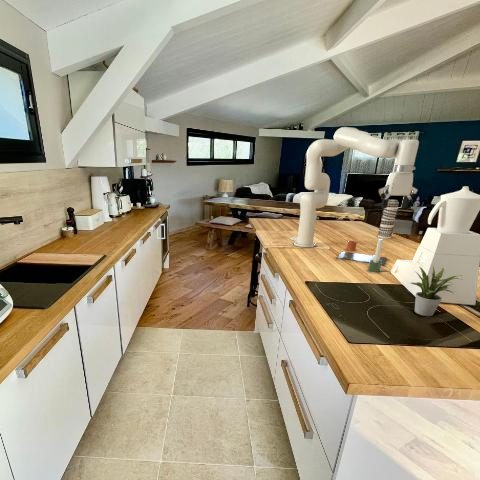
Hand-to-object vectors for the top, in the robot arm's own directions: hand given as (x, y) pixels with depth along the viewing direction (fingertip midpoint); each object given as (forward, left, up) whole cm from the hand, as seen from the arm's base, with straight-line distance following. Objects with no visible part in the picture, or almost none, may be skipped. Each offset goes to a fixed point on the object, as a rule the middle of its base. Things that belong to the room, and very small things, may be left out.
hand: (394, 208), depth 148 cm
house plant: (+18, -57, -28) cm, 66 cm away
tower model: (-5, +74, -28) cm, 79 cm away
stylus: (-2, -16, -27) cm, 32 cm away
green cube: (-2, -16, -28) cm, 32 cm away
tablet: (-10, +4, -28) cm, 30 cm away
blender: (+18, -27, -28) cm, 43 cm away
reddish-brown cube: (-18, +22, -28) cm, 39 cm away
